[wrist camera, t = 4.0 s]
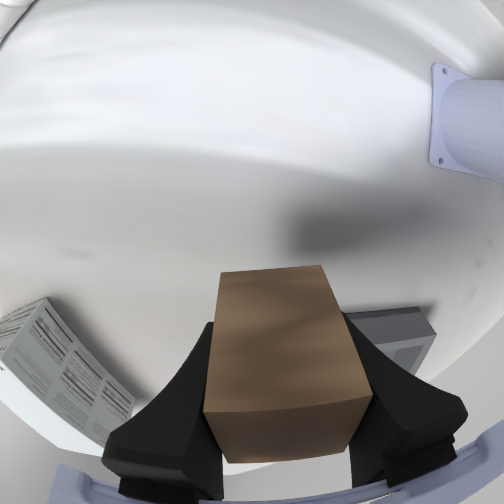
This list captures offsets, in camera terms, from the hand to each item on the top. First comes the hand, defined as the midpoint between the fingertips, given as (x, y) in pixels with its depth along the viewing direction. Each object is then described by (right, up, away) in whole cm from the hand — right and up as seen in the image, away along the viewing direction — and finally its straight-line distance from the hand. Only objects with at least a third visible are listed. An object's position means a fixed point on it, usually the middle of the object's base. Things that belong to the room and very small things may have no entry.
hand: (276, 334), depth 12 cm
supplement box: (-24, -10, +15) cm, 30 cm away
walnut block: (0, +1, +2) cm, 2 cm away
